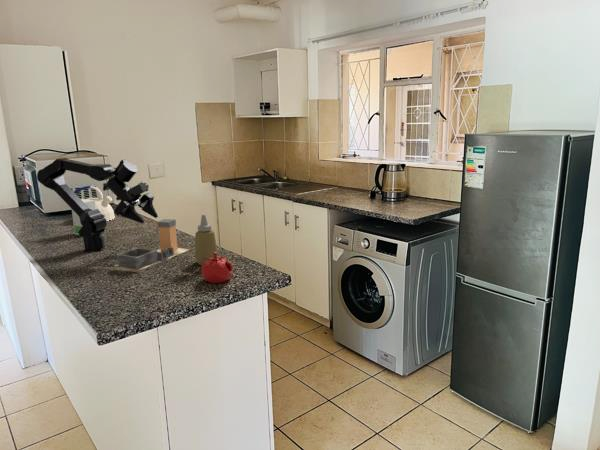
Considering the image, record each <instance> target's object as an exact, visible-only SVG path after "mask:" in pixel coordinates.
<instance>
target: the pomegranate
mask: <svg viewBox="0 0 600 450" xmlns="http://www.w3.org/2000/svg"><path fill="white" fill-rule="evenodd" d="M213 256H214V258H213V259H212V258H205V259H210V260H209V261H206V262H205V263H204V264H203V265H202V267H200V268H201V270H200V273H201V276H202V279H203V280H205V281H206V282H208V283H210V284H220V283H224V282H227V281H229V280H230V279H231V278H232V274H233V270H234V269H233V268H234V267H233V265H232V263H231V262H230V261H229V260H228V258H227V255H221V256H218V257H217V253H216V252H214V255H213Z"/></svg>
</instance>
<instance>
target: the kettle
mask: <svg viewBox="0 0 600 450" xmlns="http://www.w3.org/2000/svg"><path fill="white" fill-rule="evenodd" d="M87 189H89V190H90V189H93V190H94V191H96V192H97V193H98V197H88V198H86V199H89V200H95V207H96V209H98V210H99V211H100V212H101V213H102V214H103V215H104V217H105V219H106V221H108V222H110V221H109V220H111V221H113V220H115V219H116V216H115V212H114V209H113V207H112V206H111V204H110V203H111V202H112V201H113V198H112V197H111V196H109V195H106V197H105V198H104V195H103V193H102V190H100V188H98V187H96V186H94V185H86V186H82V187H80V188H77V189H75V190H74V191H73V192H74V193H75V194H76V195H77V193H79V192H82V191H83V190H87ZM114 218H115V219H114ZM112 219H113V220H112Z"/></svg>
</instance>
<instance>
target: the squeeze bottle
mask: <svg viewBox="0 0 600 450" xmlns="http://www.w3.org/2000/svg"><path fill="white" fill-rule="evenodd" d="M194 237H195V238H194V239H195V240H194V258H195V260H196V262H197V264H198V265H200V268H202V265H203V264H204V263H205V262H206V261H209V260H210V259H205V258H212V259H213V258H214V256H213V255H214V252H216V253H217V257H219V252H218V251H219V250H218V247H217V240H216V239H217V238H216V234H215V231H214V230H212V224H210V223H208V220H207V216H206V214H201V218H200V224H198V225H197V231H196V232H195V235H194Z"/></svg>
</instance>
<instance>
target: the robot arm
mask: <svg viewBox="0 0 600 450" xmlns="http://www.w3.org/2000/svg"><path fill="white" fill-rule="evenodd" d="M67 171H70V172H74V173H79V174H82V175H83V174H84V175H86V176H89V177H90V178H91V179H93V180H96V181H97V182H102V181H103V184H102V185H103V186H102V190H103V191H104V192H105V191H108V190H109V191H111V193H112V194H114V196H116V197H115V200H117V202H118V201H119V203H118V204H117V205H116V206H115V208H114V209H113V211H114V215H116V216H117V217H121V218H126V219H129V220H132V221H135V222H137V223H140V224H144V223H145V220H144V219H143V217H141V215H140V214H139V213H138V212H137V210H136V208H135V207H136V206H137V207H138V208H140V209H141V210H142V212H144V213H146V214H147V215H150V216H151V217H153V218H155V219H157V218H158V217H159V216H158V213H157V212H156V210H155V208H154V204H153V201H154V199H155V196H154V195H153V193H151V192H149V193H145V192H148V191H149V188H150V187H149V184H148V183H147V182H146V181H141V182H140V183H138V184H137V185H134V186H129V185H127V184H126V183H130V182H131V180H132V179H133V178H134V176H135V175H136V174H137V172H138V171H139V169H138V167H137V166H136V164H134V163H132V162H130V161H127V160H126V159H121V160H120V161H119V163H118V165H117V166H116V167H113V165H112V164H110V163H109V164H108V163H106V164H105V163H103V164H102V163H99V164H98V163H97V164H95V163H94V164H93V163H88V162H87V163H86V162H82V161H78V160H74V159H69V158H67V157H60V158H56V159H54V161H52V162H51V163H49V164H48V165H46V166H44V167H43V168H41V169H39V170H38V171H37V174H36V176H37V177H36V179H37V181H38V182H39V183H40V184H41V185H43V186H44V187H45V188H48V189H50V190H51V191H54V192H55V193H56V194H57V195H58V196H59V198H60V199H62V201H64V203H66V204H67V206H69V208H70V209H71V211H72V210H73V211H74V212H75V213H76V214H77V215H78V216H79V218H80V223H81V225H82V226H83V227H82V228H81V229H80V230H79V232H78V233H79V237H80V238H82V239H83V244H84V245H83V246H84V250H83V253H84V252H85V253H87V252H88V253H89V252H100V251H102V250H103V249H104V248H105V244H106V243H105V239H104V236H103V233H105V229H106V227H107V222H106V219H105V217H104V215H103V214H102V213H101V212H100V211H99V210H98V209H96V210H91V209H90V208H89V207H88V206H87V205H86V204H85V203H84V202H83V201H82V200H81V199H82V198H80V197H79V196H78V195H77V193H76V194H75V193H74V191H73V190H72V188H71V187H69V185H68V184H66V181H65V176H64V175H65V173H66V172H67ZM104 181H107V182H104ZM143 193H144V194H143Z"/></svg>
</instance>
